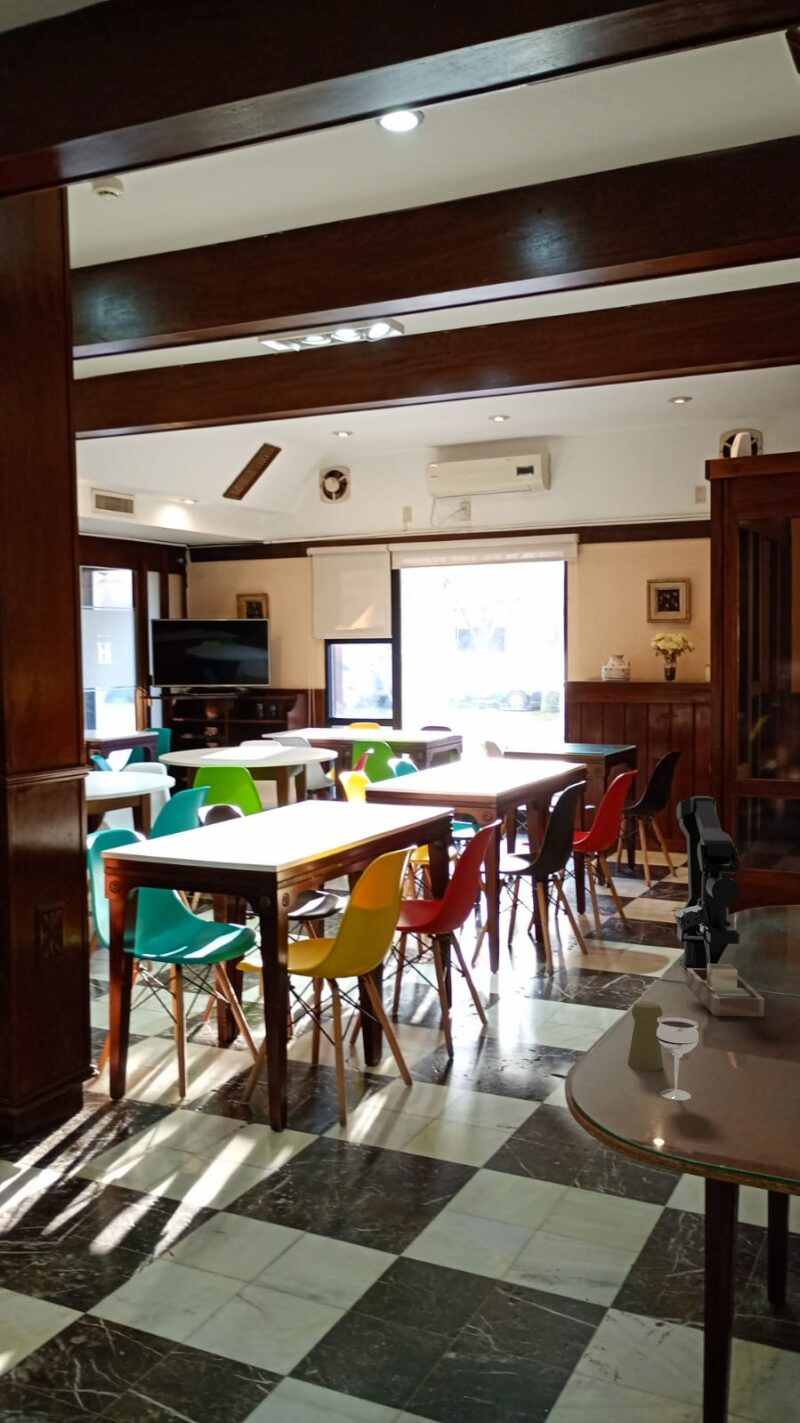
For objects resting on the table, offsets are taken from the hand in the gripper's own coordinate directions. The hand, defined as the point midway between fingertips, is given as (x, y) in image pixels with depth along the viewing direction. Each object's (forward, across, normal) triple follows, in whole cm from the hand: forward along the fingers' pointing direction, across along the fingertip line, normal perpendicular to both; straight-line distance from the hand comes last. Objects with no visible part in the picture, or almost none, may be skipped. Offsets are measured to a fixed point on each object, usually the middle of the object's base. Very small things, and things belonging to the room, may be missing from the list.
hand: (712, 966), depth 252 cm
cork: (+5, +50, -25) cm, 57 cm away
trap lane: (+5, +9, 0) cm, 10 cm away
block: (+2, +8, 0) cm, 8 cm away
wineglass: (+5, +64, -23) cm, 69 cm away
